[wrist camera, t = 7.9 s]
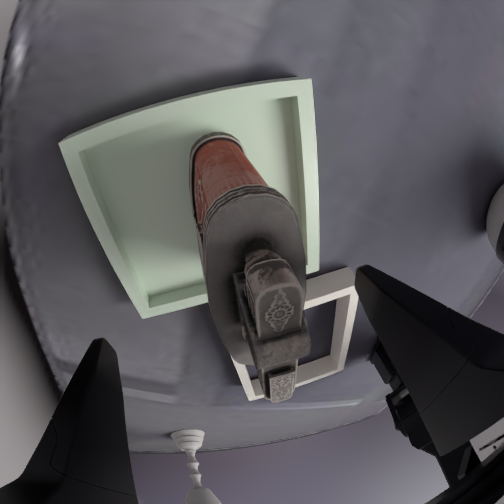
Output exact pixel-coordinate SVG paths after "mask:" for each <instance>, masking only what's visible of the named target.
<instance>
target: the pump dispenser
mask: <svg viewBox="0 0 504 504" xmlns="http://www.w3.org/2000/svg"><path fill="white" fill-rule="evenodd" d="M486 227H487V234H488V238H489V241H490V243H491V245H492V247H493V249H494V250H495V252H496V256H497V258H498V259H499V260H500V261H501V262H502V263H503V264H504V184H503V185H502V186H501V187H500V188H499V189H498V190H497V192H496V193H495V195H494V197H493V199H492V201H491V203H490V206H489V209H488V214H487V221H486Z"/></svg>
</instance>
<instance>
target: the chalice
mask: <svg viewBox="0 0 504 504" xmlns="http://www.w3.org/2000/svg"><path fill="white" fill-rule="evenodd" d="M204 434H205V433H204V432H203V431H201V430H195V429H188V430H180V431H176V432H174V433H172V434H171V437H172V438H173V440H174V442H175V443H176V445H177V447H178V448H179V449H180V450H183V451H185V452H186V453H187V454H188V457H189V462H188V463H187V465H188V466H189V467H190V468H191V474H190V477H191V478H192V480H193V482H194V488H193V489H191V490H189V491H188V494H187V497H186V500H185V503H184V504H222V503H221V502H220V501H219V500H218V499H217V498H216V496H215V495H214V494H213V493H212V492H211V491H210V490H209V489H207V488H203V487H202V485H201V483H200V477H201V474H200V473H199V471H198V470H197V469H198V468H197V467H198V465H199V463H198V462H197V461H196V458H195V452H196V451H195V450H197V449H199V448H200V447H201V446H202V441H203V436H204Z"/></svg>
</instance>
